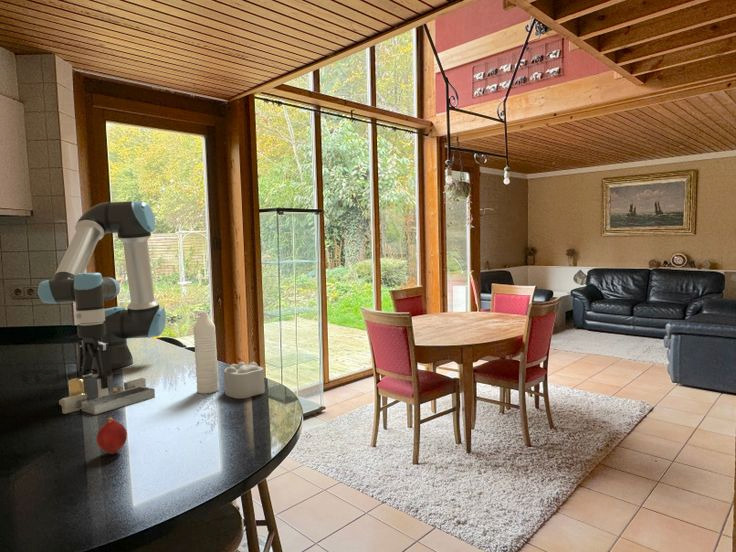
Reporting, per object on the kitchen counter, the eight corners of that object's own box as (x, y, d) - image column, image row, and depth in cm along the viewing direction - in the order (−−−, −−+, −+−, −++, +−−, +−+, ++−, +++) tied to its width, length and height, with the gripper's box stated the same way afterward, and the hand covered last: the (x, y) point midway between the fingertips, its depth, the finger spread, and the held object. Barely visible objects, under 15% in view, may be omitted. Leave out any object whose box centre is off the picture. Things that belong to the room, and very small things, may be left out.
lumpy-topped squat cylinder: (238, 400, 140) (236, 370, 140) (217, 392, 150) (216, 364, 149) (269, 391, 148) (267, 363, 147) (247, 384, 157) (246, 358, 157)
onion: (105, 449, 108) (102, 414, 107) (132, 447, 108) (129, 412, 108) (92, 460, 102) (90, 423, 101) (121, 458, 102) (118, 421, 102)
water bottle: (221, 391, 150) (217, 311, 149) (200, 395, 147) (195, 313, 145) (213, 385, 157) (209, 309, 156) (192, 389, 154) (188, 311, 153)
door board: (128, 387, 160) (127, 375, 159) (162, 394, 149) (161, 381, 149) (48, 408, 140) (47, 394, 139) (81, 418, 129) (80, 404, 129)
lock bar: (107, 393, 153) (106, 371, 153) (114, 394, 151) (113, 372, 151) (67, 403, 143) (65, 380, 143) (74, 405, 141) (72, 382, 141)
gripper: (61, 323, 150) (66, 395, 151) (96, 327, 138) (101, 405, 140) (86, 320, 156) (91, 389, 157) (122, 323, 145) (126, 398, 146)
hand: (96, 396), depth 148 cm, fingers open, 8 cm apart
